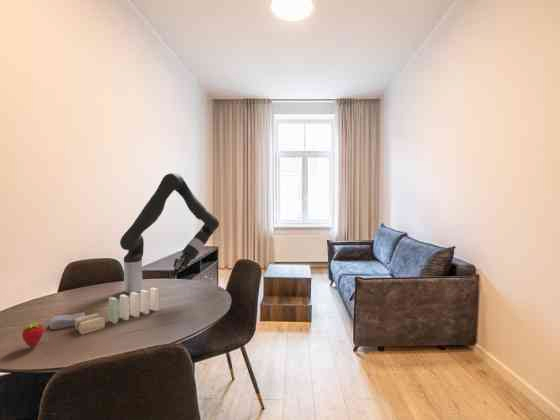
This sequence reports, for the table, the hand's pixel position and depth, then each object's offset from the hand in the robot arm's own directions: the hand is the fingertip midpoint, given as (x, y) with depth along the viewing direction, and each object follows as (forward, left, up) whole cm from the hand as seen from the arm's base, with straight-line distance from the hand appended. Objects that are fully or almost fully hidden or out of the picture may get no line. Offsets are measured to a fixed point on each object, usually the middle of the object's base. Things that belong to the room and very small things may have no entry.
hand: (172, 276), depth 148 cm
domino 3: (0, -18, -14) cm, 23 cm away
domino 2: (0, -23, -14) cm, 27 cm away
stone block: (-13, -40, -15) cm, 44 cm away
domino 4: (0, -14, -14) cm, 20 cm away
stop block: (0, -36, -14) cm, 39 cm away
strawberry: (+3, -55, -14) cm, 57 cm away
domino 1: (0, -27, -14) cm, 31 cm away
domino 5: (0, -9, -14) cm, 17 cm away
